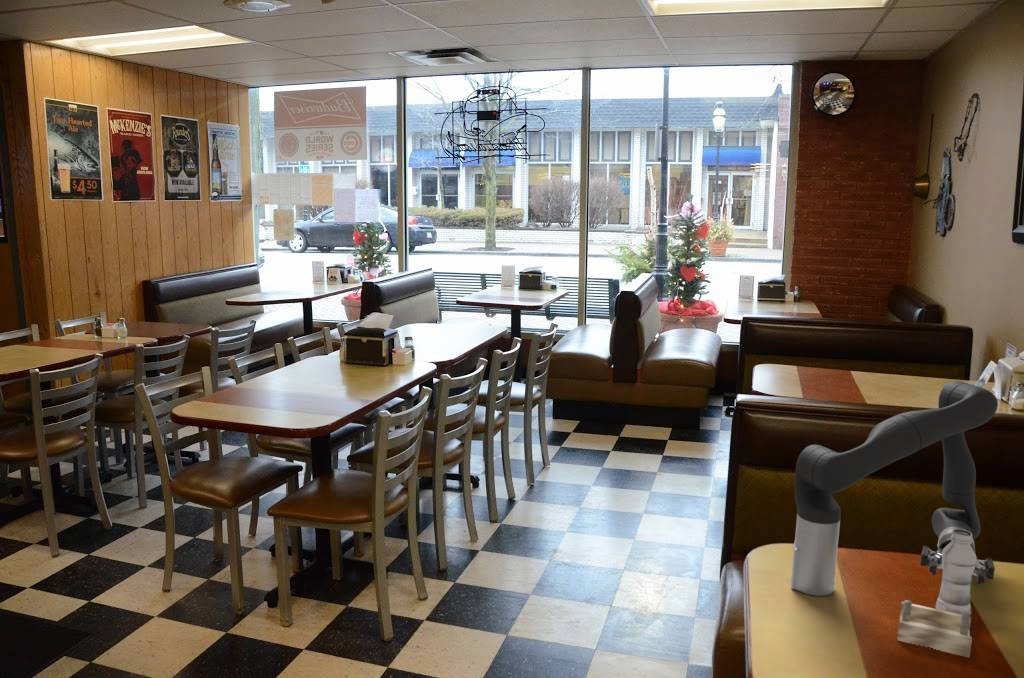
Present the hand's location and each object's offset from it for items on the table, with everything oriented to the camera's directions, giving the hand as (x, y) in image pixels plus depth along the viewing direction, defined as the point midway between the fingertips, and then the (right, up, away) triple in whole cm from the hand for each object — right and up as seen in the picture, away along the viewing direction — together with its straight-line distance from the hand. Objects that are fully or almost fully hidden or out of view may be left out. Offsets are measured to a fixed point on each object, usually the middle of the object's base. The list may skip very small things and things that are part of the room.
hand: (956, 575), depth 175 cm
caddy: (-8, -11, -6) cm, 15 cm away
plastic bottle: (-1, -10, +1) cm, 10 cm away
